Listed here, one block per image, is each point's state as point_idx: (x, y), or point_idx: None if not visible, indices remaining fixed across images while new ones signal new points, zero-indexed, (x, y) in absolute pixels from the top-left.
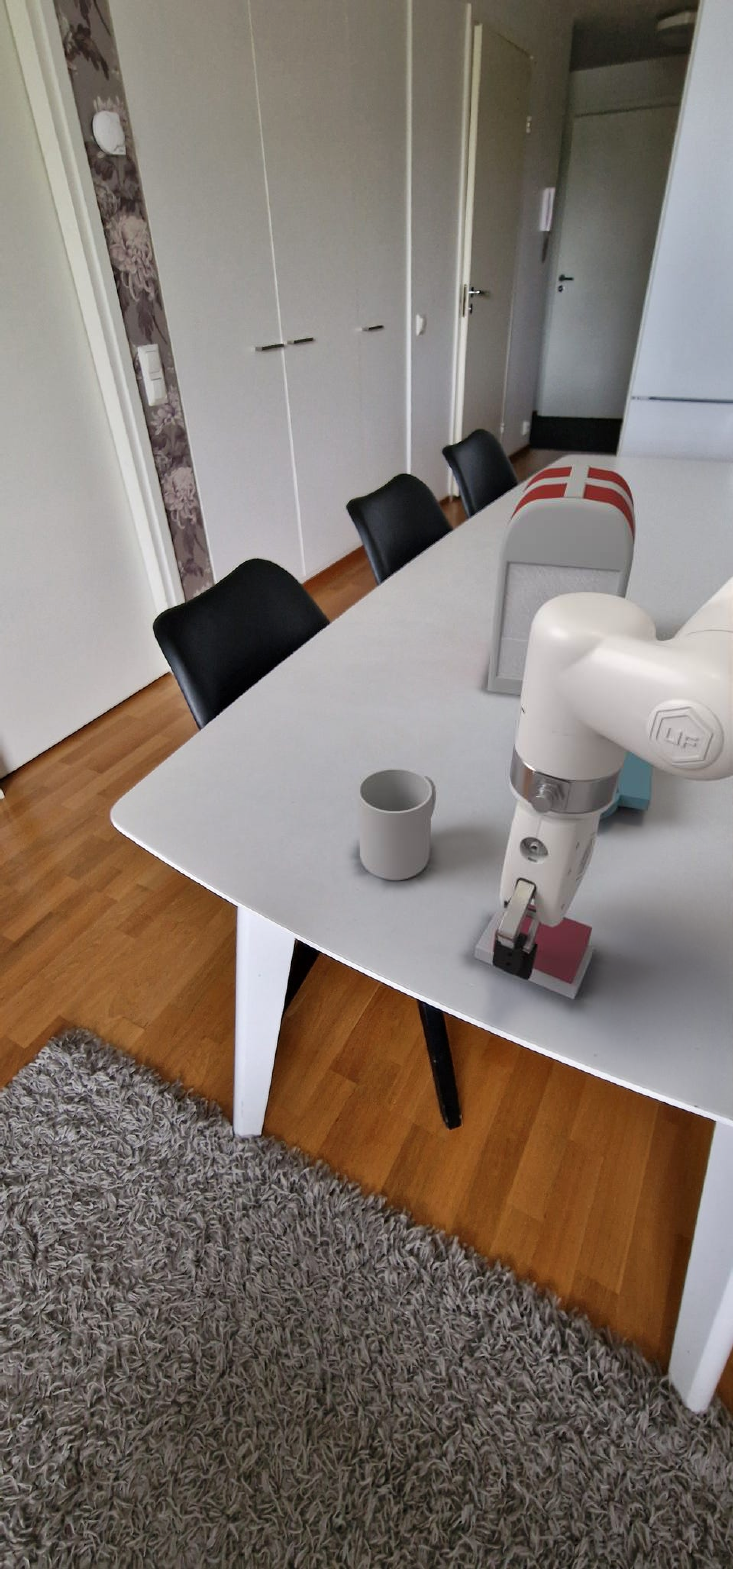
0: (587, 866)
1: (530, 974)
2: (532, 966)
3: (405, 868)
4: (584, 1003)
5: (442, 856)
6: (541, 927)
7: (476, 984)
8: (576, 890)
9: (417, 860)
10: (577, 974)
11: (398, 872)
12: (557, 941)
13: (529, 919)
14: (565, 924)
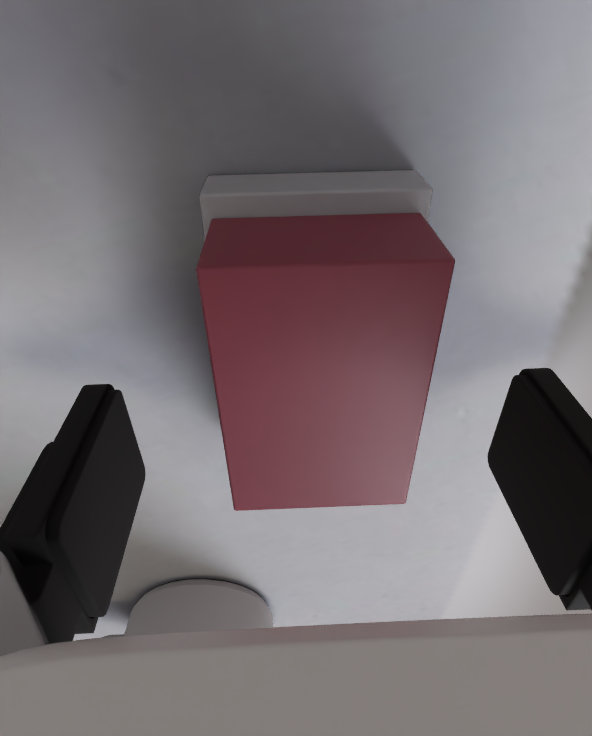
0: (81, 706)
1: (562, 383)
2: (575, 409)
3: (246, 622)
4: (416, 128)
5: (133, 570)
6: (316, 419)
7: (457, 405)
8: (402, 679)
9: (217, 627)
10: (364, 207)
11: (258, 619)
12: (355, 357)
13: (299, 456)
14: (252, 362)
